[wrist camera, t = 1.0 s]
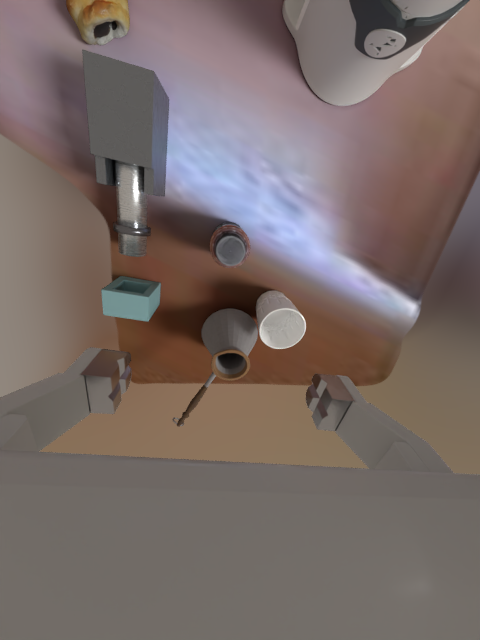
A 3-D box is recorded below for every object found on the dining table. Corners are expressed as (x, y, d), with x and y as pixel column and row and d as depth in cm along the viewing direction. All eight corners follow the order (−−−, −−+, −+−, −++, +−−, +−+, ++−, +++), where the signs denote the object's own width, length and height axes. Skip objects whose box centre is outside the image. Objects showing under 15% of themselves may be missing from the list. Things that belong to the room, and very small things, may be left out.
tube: (117, 100, 30) (98, 82, 25) (158, 111, 30) (146, 95, 26) (122, 246, 38) (108, 253, 33) (154, 252, 39) (144, 259, 34)
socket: (120, 275, 42) (101, 289, 35) (160, 282, 43) (148, 297, 36) (121, 297, 44) (103, 314, 37) (159, 304, 45) (148, 321, 38)
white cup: (285, 324, 49) (298, 351, 40) (249, 319, 48) (255, 346, 39) (295, 289, 45) (312, 311, 36) (256, 284, 44) (264, 305, 35)
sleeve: (113, 82, 30) (82, 49, 23) (169, 98, 31) (153, 71, 24) (117, 185, 35) (92, 182, 29) (164, 196, 36) (151, 195, 30)
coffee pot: (225, 292, 44) (225, 330, 31) (267, 323, 48) (282, 369, 35) (167, 360, 51) (146, 415, 38) (207, 383, 55) (202, 440, 42)
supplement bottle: (238, 261, 42) (242, 280, 32) (207, 249, 40) (201, 264, 30) (251, 229, 39) (259, 239, 29) (219, 215, 38) (216, 220, 28)
